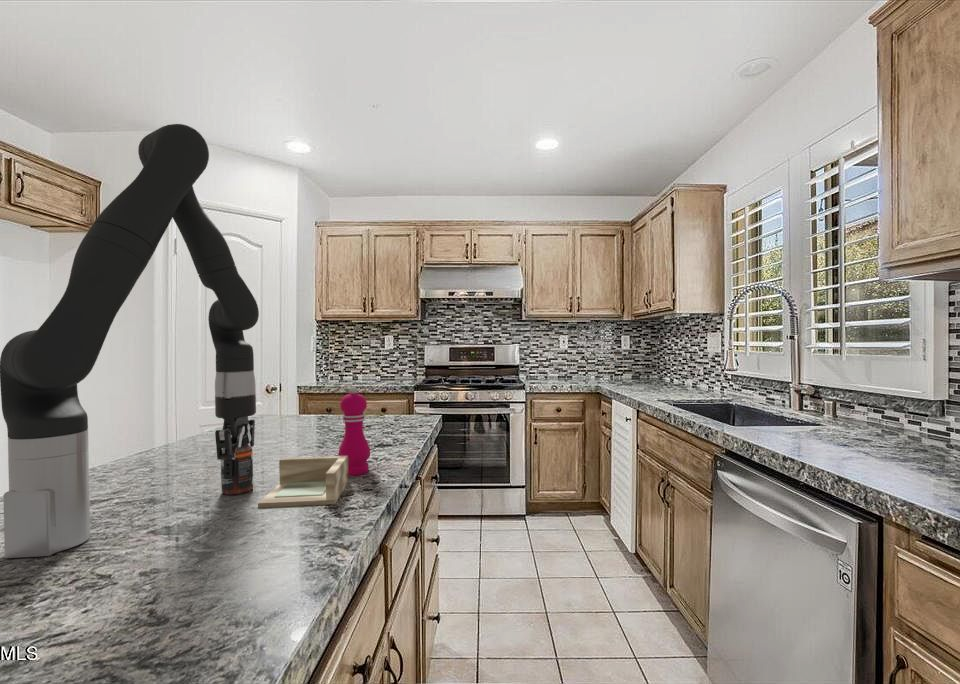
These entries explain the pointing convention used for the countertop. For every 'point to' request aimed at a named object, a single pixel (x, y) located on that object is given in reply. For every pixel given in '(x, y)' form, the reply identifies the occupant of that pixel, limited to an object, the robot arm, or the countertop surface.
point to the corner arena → (308, 481)
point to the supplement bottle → (240, 471)
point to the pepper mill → (354, 433)
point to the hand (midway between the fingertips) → (237, 473)
